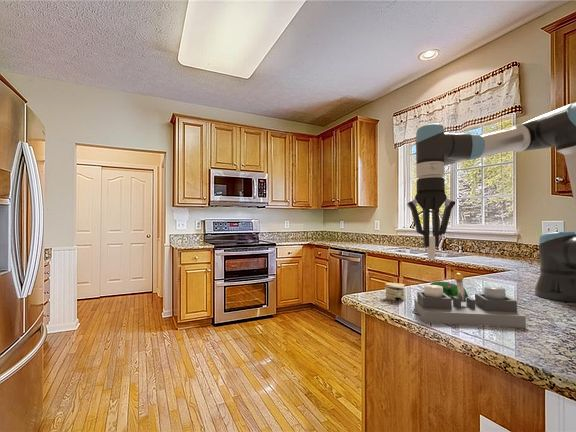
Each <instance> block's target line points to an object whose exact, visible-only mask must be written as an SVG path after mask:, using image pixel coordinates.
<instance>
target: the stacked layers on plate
mask: <svg viewBox="0 0 576 432" xmlns="http://www.w3.org/2000/svg"><path fill="white" fill-rule="evenodd" d="M385 285H387V286H385V287H384V289H385V293H384V295H385V299H387V300H393V301H396V300H401V301H404V300H405V296H406V293H405V290H406V288H405V287H404V286H405V285H406V284H405V283H400V282H399V283H397V282H387V283H385Z"/></svg>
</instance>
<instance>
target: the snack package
mask: <svg viewBox="0 0 576 432" xmlns="http://www.w3.org/2000/svg"><path fill="white" fill-rule="evenodd" d="M429 285H438V286H442V287H443V293H445V294H446V295H447V296H449V297H450V298H451V299H452V300H453V296H456V297H458V298H459V294H458V288H457V284H455V283H452V282H449V281H434V282H431V283H430V284H429ZM464 293H465V298H466V297H470V296H469V294H468V293H467V290H466V288H464Z"/></svg>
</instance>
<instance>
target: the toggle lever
mask: <svg viewBox="0 0 576 432" xmlns="http://www.w3.org/2000/svg"><path fill="white" fill-rule="evenodd" d="M464 278H465V277H464V275H463V273H460V272H456V273H454V275H453V279H454V280H455V282H456V285H457V288H458V294H459V299H461V302H466V298H465V293H464V289H465V287H464V284H463V283H464V282H463V281H464Z"/></svg>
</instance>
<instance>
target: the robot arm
mask: <svg viewBox="0 0 576 432" xmlns="http://www.w3.org/2000/svg"><path fill="white" fill-rule="evenodd" d="M444 127H445V126H444V125H443V124H440V123H429V124H424V125H422V126H420V127H418V128H417V130H416V135H415V155H416V156H415V159H416V162H415V163H416V174H415V175H416V178H417V180H416V194H415V195H414V199H412V200H411V201H409V202H407V203H406V205H407V207H408V208H409V209H410V211H411V215H412V219H413V222H414V227H415V229H416V230H415V231H416V233H417V234H419V235H422V236H423V247H424V248H427V250H426V251H427V255H426V256H427V258H428V259H429V260H431V259H433V260H436V248H439V246H440V243H439V242H440V238H439V237H440V236H441V235H445V234H446V233H447V229H448V226H449V225H448V224H449V221H450V217H451V213H452V210H453V208H454V206H455V205H456V202H455V200H454V201H453V200H450V199H449V198H448V196H447V194H446V192H445V191H446V189H445V188H446V187H445V186H446V181H445V180H446V179H445V178H444V176H445V166H448V165H452V164H457V163H461V162H467V161H470V160H477V159H480V158H484V157H489V156H495V155H498V154H499V155H500V154H502V153H507V152H514V153H521V152H527V151H535V150H541V149H549V148H550V149H551V148H554V147H555V149H556V152H557V153H559V154H562V155H563V156H564V159H565V165H566V169H567V173H568V174H567V175H568V178H569V182H570V183H569V184H570V187H571V192H572V197H573V202H574V206H575V207H576V101H575V102H571V103H570V104H567V105H564V106H562V107H560V108H557V109H555V110H551V111H550V112H546V113H543V114H542V115H539V116H537V117H535V118H532V119H530V120H528V121H525V122H523V123H520V124H515V125H512V126H511V127H510V128H509V129H505V130H499V131H495V132H491V133H487V134H482V135H480V134H475V133H471V132H469V133H449V132H445V128H444ZM417 204H418V205H419V206H420V208H421V209H422V223H421V219H420V215H419V212H418V208H417V206H418V205H417ZM443 204H444V206H445V207H444V210H443V213H442V217H441V221H440V208H441V207H442V206H443ZM430 210H431V220H432V221H431V223H432V229H430ZM430 230H432V235H430V234H431V233H430ZM538 241H539V243H538V253H539V255H538V256H539V268H540V269H539V271H540V274H539V275H538V276H539V277H538V279H537V282H536V284H535V287H534V295H535V296H538V297H541V298H544V299H547V300H548V299H549V300H555V301H561V302H571V303H576V230H574V231H573V230H572V231H571V230H570V231H554V232H547V233H546V232H545V233H542V234H541V235H540V236H539V240H538Z"/></svg>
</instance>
